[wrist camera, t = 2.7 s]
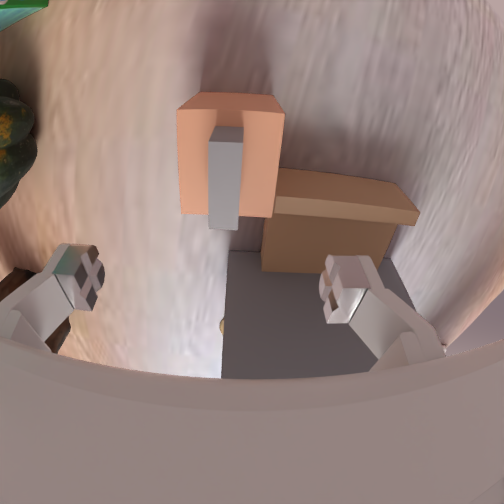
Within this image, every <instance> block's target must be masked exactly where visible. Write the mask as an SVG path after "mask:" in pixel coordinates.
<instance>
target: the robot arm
mask: <svg viewBox="0 0 504 504" xmlns="http://www.w3.org/2000/svg"><path fill="white" fill-rule="evenodd" d="M98 255H99V253H98V250H97V248H96V246H94V245H85V244H66V243H62V244H60V245H59V246H58V247H57V249H56V250H55V252H54V253H53V255H52V256H51V258H50V259H49V261H48V263H47V264H46V266H45V267H44V269H43V271H42V272H41V273H37V274H36V275H35V276H33V277H32V278H30V279H29V280H28V281H26V282H25V283H24V284H22V285H21V286H20V287H19V288H17V289H16V290H15V291H13V292H12V293H11V294H10V295H8V296H7V297H6V298H5V299H3V300H2V301H1V302H0V504H504V339H502V340H500V341H497V342H494V343H491V344H488V345H485V346H482V347H479V348H475V349H472V350H469V351H466V352H462V353H459V354H455V355H451V356H447V357H446V355H445V351H446V346H445V345H441V343H440V340H439V338H438V335H437V333H436V331H435V328H434V327H433V326H432V325H431V324H430V323H428V322H427V321H426V320H425V319H424V318H423V317H422V316H420V315H419V314H418V313H417V312H416V311H415V310H413V309H412V308H411V307H410V306H409V305H408V304H406V303H405V302H404V301H403V300H402V299H400V298H399V297H398V296H397V295H396V294H394V293H393V292H392V291H391V290H389V289H385V287H384V285H383V283H382V281H381V279H380V276H379V274H378V272H377V270H376V268H375V266H374V264H373V261H372V259H371V258H370V257H369V256H368V255H355V256H354V255H328V257H327V258H326V261H325V265H326V269H325V270H324V271H323V272H322V273H321V277H320V281H319V293H320V297H321V299H322V300H323V301H324V302H325V305H324V307H323V310H324V314H325V318H326V322H327V324H331V323H349V325H350V326H351V328H352V329H353V330H354V331H355V332H356V334H357V335H358V336H359V337H360V338H361V339H362V341H363V342H364V343H365V344H366V345H367V347H368V348H369V349H370V350H371V351H372V352H373V354H374V355H375V356H376V357H377V358H378V361H377V362H376V363H375V364H374V366H373V367H372V368H371V369H370V370H369V372H363V373H355V374H346V375H337V376H325V377H312V378H294V379H221V378H202V377H189V376H178V375H168V374H159V373H151V372H144V371H137V370H130V369H124V368H118V367H112V366H107V365H102V364H97V363H92V362H87V361H83V360H78V359H74V358H70V357H66V356H62V355H58V354H55V353H52V352H51V349H50V348H49V347H48V346H47V345H46V344H45V340H46V339H47V338H48V337H49V336H50V335H51V334H52V333H53V332H54V331H55V330H56V328H57V327H58V326H59V325H60V324H61V323H62V322H63V321H64V320H65V319H66V318H67V317H68V316H69V315H70V314H71V313H72V312H73V311H74V309H77V310H85V311H92V310H93V307H94V305H95V302H96V300H97V298H98V297H97V294H96V292H97V291H98V290H99V289H101V288H102V285H103V283H104V277H105V271H104V267H103V264H102V262H101V261H100V260H99V259H97V257H98Z"/></svg>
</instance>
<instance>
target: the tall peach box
mask: <svg viewBox="0 0 504 504" xmlns="http://www.w3.org/2000/svg"><path fill="white" fill-rule="evenodd" d="M284 119H285V113H284V111H283V110H282V108H281V107H280V105H279V104H278V102H277V101H276V99H275V98H274V96H273V95H264V94H250V93H229V92H199V93H198V94H196V95H195V96H194V97H192V98H191V99H190V100H188V101H187V102H186V103H184V104H183V105H182V106H181V107H179V108H178V109H177V147H178V170H179V187H180V202H181V214H206V215H208V216H209V229H218V230H238V218H239V216H249V217H267V218H272V211H273V204H274V197H275V189H276V182H277V174H278V167H279V159H280V151H281V143H282V135H283V127H284Z"/></svg>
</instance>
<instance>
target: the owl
mask: <svg viewBox="0 0 504 504" xmlns="http://www.w3.org/2000/svg"><path fill="white" fill-rule="evenodd" d="M35 275H36V273H34V272H31V271H29V270H21V269H18V268H16V267H15V268H14V270H13V272H12V273H10V274H9V275H7V276H6V277H5V278H4V279H3V280H2V281H1V282H0V302H1V301H2V300H3V299H5V298H6V297H7V296H8V295H10V294H11V293H12V292H13V291H15V290H16V289H17V288H19V287H20V286H21V285H22V284H24V283H25V282H26V281H28V280H29V279H30V278H32V277H33V276H35ZM70 329H71V325H70V323H69V316H68V317H67V318H66V319H65V320H64V321H63V322H62V323H61V324H60V325H59V326H58V327H57V328H56V330H55V331H54V332H53V333H52V334H51V335H50V336H49V337H48V338H47V339H46V340H45V344H46V345H47V346H48V347H49V348H50V349H51V352H52V353H55V354H58V350H59V349H60V347H61V346H62V344H63V342H64V340H65V339H66V337H67V335H68V334H69V332H70Z"/></svg>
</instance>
